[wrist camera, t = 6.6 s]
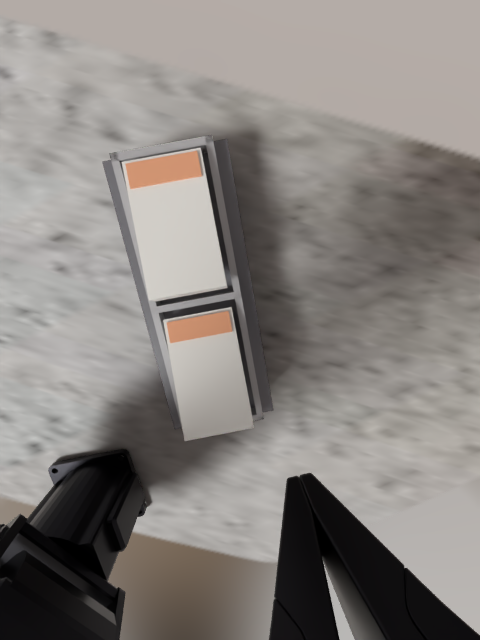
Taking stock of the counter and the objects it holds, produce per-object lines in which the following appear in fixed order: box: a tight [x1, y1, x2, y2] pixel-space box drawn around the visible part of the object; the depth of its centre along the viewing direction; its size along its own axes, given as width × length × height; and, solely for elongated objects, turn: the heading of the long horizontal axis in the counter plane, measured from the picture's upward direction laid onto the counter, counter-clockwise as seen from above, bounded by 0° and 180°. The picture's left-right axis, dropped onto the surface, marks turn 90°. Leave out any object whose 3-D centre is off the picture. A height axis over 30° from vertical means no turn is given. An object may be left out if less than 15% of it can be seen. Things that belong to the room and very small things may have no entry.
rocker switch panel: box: [103, 135, 273, 431], centre depth 16 cm, size 7×17×4 cm, turn 10°
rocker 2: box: [163, 307, 254, 441], centre depth 14 cm, size 4×7×1 cm, turn 10°
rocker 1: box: [122, 148, 227, 302], centre depth 13 cm, size 4×7×1 cm, turn 10°
